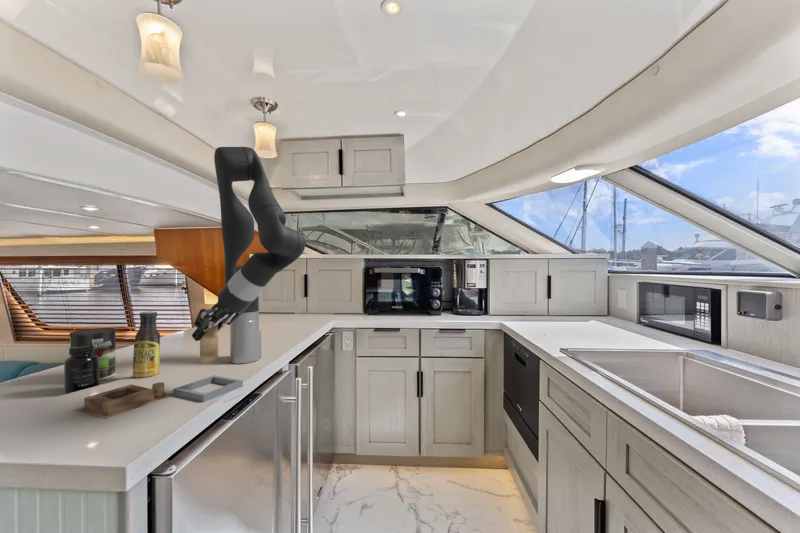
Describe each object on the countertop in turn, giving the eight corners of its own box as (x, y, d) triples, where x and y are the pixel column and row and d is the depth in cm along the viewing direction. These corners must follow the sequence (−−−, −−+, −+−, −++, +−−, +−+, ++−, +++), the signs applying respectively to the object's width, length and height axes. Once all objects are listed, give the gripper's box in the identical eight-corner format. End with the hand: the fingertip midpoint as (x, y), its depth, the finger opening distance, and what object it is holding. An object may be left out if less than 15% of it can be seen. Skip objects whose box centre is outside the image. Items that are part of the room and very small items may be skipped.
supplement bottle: (64, 390, 90) (64, 345, 90) (98, 384, 95) (98, 341, 95) (64, 397, 86) (63, 350, 86) (100, 390, 90) (99, 345, 90)
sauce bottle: (128, 384, 95) (127, 314, 95) (139, 377, 101) (138, 311, 101) (155, 382, 96) (154, 313, 96) (164, 375, 102) (163, 310, 102)
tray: (213, 386, 93) (213, 375, 93) (242, 392, 89) (242, 380, 89) (173, 400, 83) (173, 388, 83) (203, 408, 79) (203, 395, 79)
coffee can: (120, 376, 102) (120, 329, 102) (73, 386, 94) (73, 335, 94) (111, 370, 108) (110, 326, 108) (66, 378, 100) (66, 331, 100)
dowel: (211, 357, 88) (210, 308, 88) (221, 359, 87) (221, 308, 87) (196, 361, 85) (196, 309, 85) (207, 363, 83) (206, 310, 83)
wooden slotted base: (146, 394, 87) (145, 377, 87) (173, 400, 83) (173, 382, 83) (77, 416, 75) (76, 396, 75) (105, 425, 70) (104, 404, 70)
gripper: (252, 277, 91) (214, 321, 94) (211, 279, 77) (168, 331, 80) (269, 297, 90) (231, 341, 92) (231, 303, 76) (187, 354, 79)
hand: (202, 336), depth 86 cm, fingers closed on dowel, 4 cm apart
